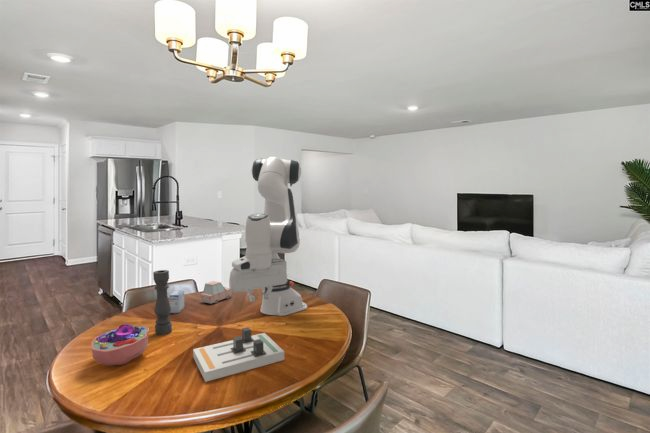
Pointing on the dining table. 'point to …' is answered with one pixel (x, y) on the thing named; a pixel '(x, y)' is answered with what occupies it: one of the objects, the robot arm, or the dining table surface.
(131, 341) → the cell model
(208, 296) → the toy car
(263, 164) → the robot arm
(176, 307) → the medicine box
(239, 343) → the breaker
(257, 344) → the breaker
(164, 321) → the candle holder
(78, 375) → the dining table surface
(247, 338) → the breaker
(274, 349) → the panel
